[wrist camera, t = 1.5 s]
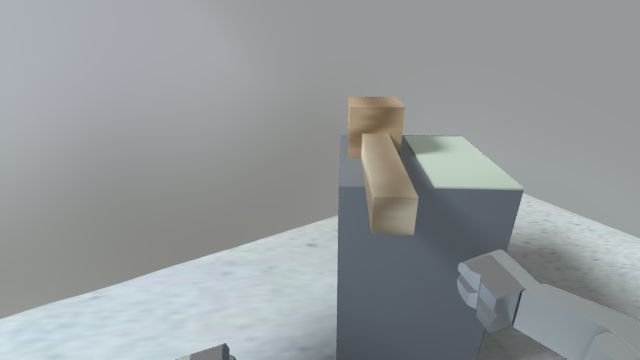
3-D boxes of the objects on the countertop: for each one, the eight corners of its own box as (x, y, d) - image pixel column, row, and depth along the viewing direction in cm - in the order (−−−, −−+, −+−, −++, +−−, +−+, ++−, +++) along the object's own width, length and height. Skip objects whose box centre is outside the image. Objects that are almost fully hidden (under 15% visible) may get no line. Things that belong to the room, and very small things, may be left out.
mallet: (350, 233, 23) (353, 154, 20) (347, 140, 44) (349, 96, 41) (435, 235, 22) (448, 156, 20) (391, 141, 43) (395, 96, 41)
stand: (336, 363, 40) (338, 184, 30) (338, 269, 57) (340, 133, 47) (473, 371, 39) (524, 188, 29) (435, 273, 56) (459, 134, 45)
